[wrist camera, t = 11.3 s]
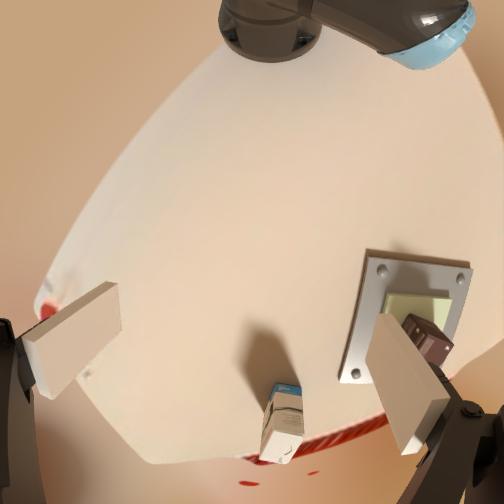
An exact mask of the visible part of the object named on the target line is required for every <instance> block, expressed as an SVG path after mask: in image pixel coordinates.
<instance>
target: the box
mask: <svg viewBox="0 0 504 504" xmlns="http://www.w3.org/2000/svg"><path fill="white" fill-rule="evenodd" d="M401 327H402V329H403V330H404V331H405V333H406V334H407V335H408V337H409V338H410V339H411V341H412V342H413V344H414V345H415V346H416V348H417V349H418V351H419V352H420V353H421V355H422V356H423V358H424V359H425V360H426V362H432V363H434V364H435V365H437V366H438V367H440V366H441V364H442V363H443V362H444V361H445V359H446V357H447V355H448V354H449V352H450V351H451V349H452V348H453V346H454V344H453V343H452V342H451V341H450V339H449V338H448V337H447V336H446V335H445V334H444V333H443V332H442V331H441V330H440V329H439V328H438V326H437V325H436V324H435V323H432V322H430V321H428V320H425V319H423V318H421V317H419V316H416V315H414V314H412V313H409V314H408V316H407V318H406V319H405V321H404V322H403V324H402V326H401Z"/></svg>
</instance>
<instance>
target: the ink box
mask: <svg viewBox="0 0 504 504" xmlns="http://www.w3.org/2000/svg"><path fill="white" fill-rule="evenodd" d="M303 439H304V420H303V403H302V388H301V387H297V386H291V385H286V384H280V383H276V384H275V386H274V389H273V392H272V394H271V397H270V399H269V402H268V404H267V407H266V410H265V412H264V419H263V429H262V438H261V447H260V455H259V460H264V461H269V462H275V463H281V464H287V463H288V462H289V461H290V459H291V458H292V456H293V454H294V453H295V452H296V450H297V448H298V447H299V445H300V444H301V442H302V440H303Z"/></svg>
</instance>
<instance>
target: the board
mask: <svg viewBox="0 0 504 504" xmlns="http://www.w3.org/2000/svg"><path fill="white" fill-rule="evenodd" d="M472 273H473V269H471V268H467V267H459V266H451V265H442V264H434V263H426V262H417V261H409V260H400V259H392V258H383V257H374V256H367V261H366V266H365V272H364V277H363V282H362V287H361V292H360V297H359V301H358V306H357V310H356V315H355V319H354V323H353V327H352V331H351V335H350V339H349V343H348V347H347V351H346V355H345V358H344V362H343V365H342V369H341V372H340V376H339V379H338V380H339V383H374V382H373V379H372V377H371V374H370V372H369V370H368V367H367V365H366V362H365V358H366V354H367V351H368V347H369V344H370V340H371V337H372V333H373V329H374V326H375V322H376V318H377V314H378V313H384V314H392V315H393V317H394V318H395V319H396V321H397V322H398V323H399V325H400V326H402V324H403V322H404V321H405V319H406V318H407V316H408V314H409V313H412V314H414V315H416V316H419V317H421V318H423V319H425V320H428V321H430V322H432V323H435V324H436V325H437V326H438V328H439V329H440V330H441V331H442V332H443V333H444V334H445V335H446V336H447V337H448V338H449V339H450V341H451V342H452V340H453V337H454V334H455V331H456V328H457V326H458V323H459V319H460V316H461V313H462V310H463V307H464V303H465V300H466V296H467V293H468V289H469V285H470V281H471V277H472ZM443 363H444V362H443ZM443 363H442V364H441V366H440V367H439V368H440V369H441V368H442V365H443Z"/></svg>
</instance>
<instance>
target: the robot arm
mask: <svg viewBox="0 0 504 504" xmlns="http://www.w3.org/2000/svg"><path fill="white" fill-rule="evenodd" d="M475 19H476V13H475V9H474V7H473V6H472V5H471V3H470V2H469V1H468V0H222V4H221V8H220V12H219V17H218V22H219V28H220V31H221V34H222V36H223V38H224V40H225V42H226V43H227V45H228V46H229V47H230V48H231V49H232V50H233V51H235V52H236V53H238V54H239V55H241V56H243V57H245V58H248V59H250V60H254V61H258V62H266V63H277V62H284V61H289V60H292V59H295V58H298V57H300V56H302V55H303V54H305V53H306V52H308V51H309V50H310V49H311V48H312V47H313V46H314V45H315V44H316V42H317V41H318V39H319V36H320V33H321V29H322V24H323V25H325V26H327V27H330V28H332V29H334V30H336V31H339V32H341V33H343V34H345V35H347V36H349V37H351V38H353V39H355V40H357V41H359V42H361V43H363V44H365V45H367V46H369V47H370V48H372V49H374V50H376V51H377V53H378V54H380V55H382V56H384V57H389V58H391V59H392V60H394V61H396V62H398V63H400V64H401V65H403V66H405V67H407V68H409V69H412V70H425V69H429V68H431V67H434V66H436V65H437V64H439V63H441V62H442V61H444V60H445V59H446V58H448V57H449V56H450V55H451V54H452V53H453V52H455V51H456V50H457V49H458V47H459V46H460V45H461V44H462V43H463V42H464V40H465V39H466V34H467V33H468V32H469V31H470V30H471V29H472V27H473V25H474V23H475ZM121 330H122V326H121V316H120V306H119V294H118V283H112V282H107V281H106V282H104V283H103V284H101V285H99V286H98V287H96V288H95V289H93V290H91V291H90V292H88V293H87V294H85V295H84V296H82V297H80V298H79V299H77V300H76V301H74V302H73V303H71V304H70V305H68V306H66V307H65V308H63V309H62V310H60V311H59V312H57V313H56V314H54V315H53V316H51V317H48V318H46V319H44V320H43V321H41V322H40V323H39V324H37V325H35V326H34V327H33V328H31V329H29V330H28V331H26V332H25V333H23V334H22V335H21V336H19V337H18V338H16V339H15V337H14V333H13V329H12V325H11V322H10V321H9V320H8V319H5V318H0V504H46V500H45V495H44V490H43V485H42V480H41V474H40V469H39V461H38V454H37V445H36V435H35V422H34V395H33V391H32V388H31V387H32V386H33V385H34V384H35V383H36V385H37V387H38V390H39V393H40V394H41V395H43V396H45V397H47V398H49V399H51V400H54V399H55V398H56V397H57V396H58V394H59V393H60V392H61V391H62V390H63V389H64V388H65V387H66V386H67V385H68V384H69V383H70V382H71V381H72V380H73V379H74V378H75V377H76V376H77V375H78V374H79V373H80V372H81V371H82V370H83V369H84V368H85V367H86V366H87V365H88V364H89V362H90V361H91V360H92V359H93V358H94V357H95V356H96V355H97V354H98V353H99V352H100V351H101V350H102V349H103V348H104V347H105V346H106V345H107V344H108V343H109V342H110V341H111V340H112V339H113V338H114V337H115V336H116V335H117V334H118V333H119V332H120V331H121ZM365 362H366V365H367V367H368V370H369V372H370V374H371V377H372V379H373V382H374V384H375V387H376V390H377V392H378V395H379V397H380V400H381V402H382V405H383V408H384V410H385V413H386V416H387V418H388V421H389V424H390V426H391V429H392V432H393V435H394V437H395V440H396V443H397V446H398V449H399V452H400V455H406V454H413V453H418V452H419V451H420V449H421V448H422V446H423V445H424V443H425V442H426V444H427V447H428V451H427V452H426V454H425V455H424V456H423V458H422V459H421V461H420V462H419V464H418V465H417V466H416V467H417V470H416V472H415V474H414V476H413V477H412V479H411V481H410V482H409V484H408V486H407V487H406V489H405V491H404V492H403V494H402V496H401V497H400V499H399V500H398V502H397V503H396V504H459V503H460V500H461V498H462V495H463V492H464V490H465V500H464V504H504V405H502V407H501V408H500V410H499V412H498V413H497V414H485V413H484V411H483V409H482V408H481V407H480V406H479V405H478V404H476V403H474V402H471V401H467V400H466V401H463V400H462V398H461V397H460V396H459V394H458V393H457V391H456V390H455V388H454V387H453V386H452V384H451V383H449V380H448V378H447V377H445V374H444V373H443V371H442V370H441V369H440V368H439V367H438V366H437V365H435V364H434V363H432V362H426V360H425V359H424V358H423V356H422V355H421V353H420V352H419V351H418V349H417V348H416V346H415V345H414V344H413V342H412V341H411V339H410V338H409V337H408V335H407V334H406V333H405V331H404V330H403V329H402V327H401V326H400V325H399V323H398V322H397V321H396V319H395V318H394V317H393V315H392V314H384V313H378V314H377V318H376V322H375V326H374V329H373V333H372V337H371V340H370V344H369V347H368V351H367V354H366V358H365ZM465 487H466V489H465Z"/></svg>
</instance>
